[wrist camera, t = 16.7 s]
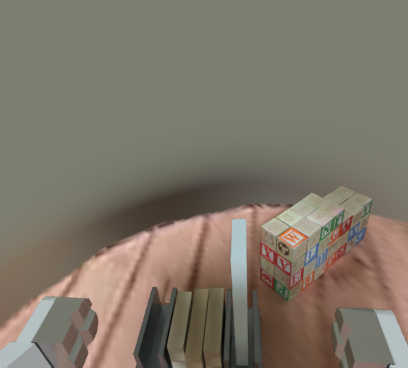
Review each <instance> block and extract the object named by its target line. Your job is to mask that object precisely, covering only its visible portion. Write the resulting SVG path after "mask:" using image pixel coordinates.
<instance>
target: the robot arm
mask: <svg viewBox="0 0 408 368" xmlns="http://www.w3.org/2000/svg"><path fill="white" fill-rule="evenodd" d="M91 306H92V303H91V301H90V300H89V298H68V297H49V296H46V297H44V298H43V299H42V300H41V301H40V303H39V304H38V306H37V308H36V309H35V311H34V313H33V314H32V316H31V317H30V319H29V321H28V322H27V324H26V326H25V327H24V329H23V330H22V332H21V334H20V335H19V337H18V339H17V340H16V342H10V343H9V344H8V345H7V346H5V347H4V348H3V349H1V350H0V368H83V365H84V363H85V360H86V358H87V356H88V350H87V346H88V345H89V344H90V343H91V342H92V341H93V340H94V338H95V335H96V333H97V328H98V316H97V314H96V312H95V311H93V310H92V309H90V308H91ZM335 316H336V320H337V321H335V322H334V323H333V325H332V343H333V348H334V353H335V355H336V356H337V357H338V358H339V359H340V360H341V361H340V365H339V368H408V345H407V343H406V340H405V338H404V336H403V334H402V331H401V329H400V327H399V324H398V322H397V320H396V317H395V315H394V313H393V312H392V311H391V310H386V309H365V308H338V309H336V313H335Z"/></svg>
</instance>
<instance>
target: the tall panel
mask: <svg viewBox="0 0 408 368" xmlns="http://www.w3.org/2000/svg"><path fill="white" fill-rule="evenodd" d="M231 274H232V292H233V310H234V328H235V346H236V364H237V365H243V366H248V313H247V247H246V219H233V220H232V242H231Z"/></svg>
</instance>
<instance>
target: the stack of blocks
mask: <svg viewBox="0 0 408 368" xmlns="http://www.w3.org/2000/svg"><path fill="white" fill-rule="evenodd" d="M372 200H373V199H371V198H369V197H367V196H364V195H362V194H360V193H358V192H355V191H353V190H350V189H348V188H346V187H344V186H340V187H338V188H337V189H335V190H334V191H333V192H331V193H329V194H328V195H326V196H325V197H323V198H322V197H320V196H318V195H316V194H314V193H311V194H310V195H308V196H307V197H305V198H304V199H302V200H301V201H300V202H298V203H297V204H295V205H294V206H292V207H291V208H290V209H287V210H286V211H284V212H283V213H281V214H280V215H278V216H277V217H276V218H273V219H271V220H270V221H268V222H267V223H265V224H264V225H262V226H261V244H260V254H261V268H260V272H261V273H260V278H261V280H263V281H264V282H265V283H266V284H267V285H269V286H270V287H271V288H272V289H274V290H275V291H276V292H277V293H279V294H280V295H281V296H282V297H283V298H285V299H286V300H287V301H290V300H291V299H292V298H293V297H295V296H296V295H297V294H298V293H299V292H301V291H303V290H304V289H305V288H306V287H307V286H309V285H310V284H311V283H312V282H313V281H314V280H316V279H317V278H318V277H319V276H320V275H322V274H323V273H324V271H325V270H326V269H328V268H329V267H330V266H331V265H332V264H333V263H334V262H335V261H336V260H338V259H339V258H340V257H341V256H342V255H343V254H346V253H347V252H348V251H349V250H350V249H351V248H353V247H354V246H355V245H356V244H357V243H358V242H359V241H361V240H362V239H363V238H364V234H365V230H366V226H367V223H368V219H369V215H370V213H369V212H370V209H371V205H372Z"/></svg>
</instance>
